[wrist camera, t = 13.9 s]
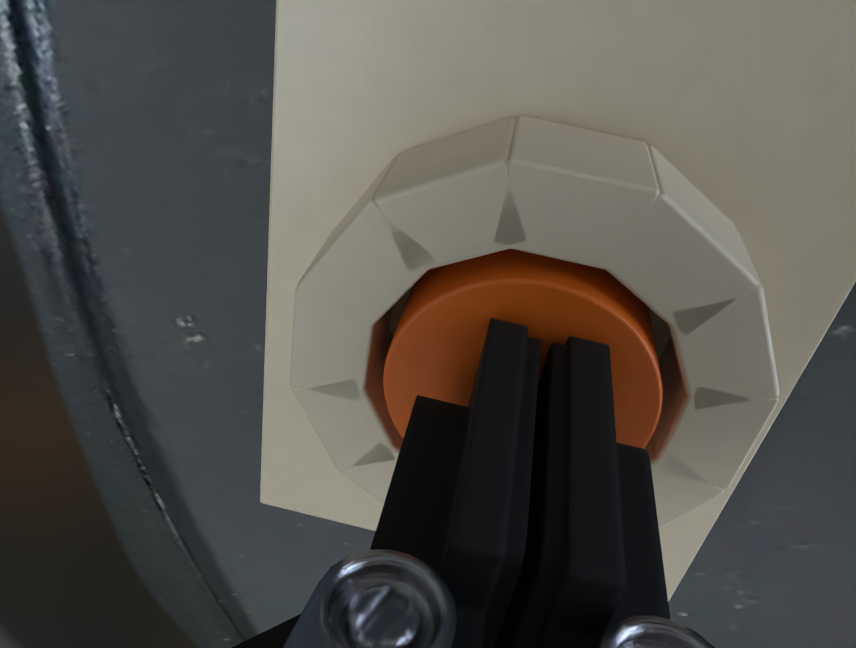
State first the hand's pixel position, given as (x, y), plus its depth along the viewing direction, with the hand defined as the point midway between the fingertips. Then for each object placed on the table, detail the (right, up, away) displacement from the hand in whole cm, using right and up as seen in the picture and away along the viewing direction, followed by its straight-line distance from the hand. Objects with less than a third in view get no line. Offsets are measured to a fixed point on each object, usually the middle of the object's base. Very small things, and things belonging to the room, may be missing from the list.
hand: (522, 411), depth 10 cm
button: (0, +1, +1) cm, 2 cm away
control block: (+1, +2, +3) cm, 4 cm away
